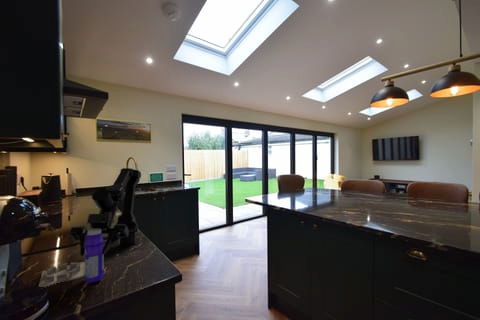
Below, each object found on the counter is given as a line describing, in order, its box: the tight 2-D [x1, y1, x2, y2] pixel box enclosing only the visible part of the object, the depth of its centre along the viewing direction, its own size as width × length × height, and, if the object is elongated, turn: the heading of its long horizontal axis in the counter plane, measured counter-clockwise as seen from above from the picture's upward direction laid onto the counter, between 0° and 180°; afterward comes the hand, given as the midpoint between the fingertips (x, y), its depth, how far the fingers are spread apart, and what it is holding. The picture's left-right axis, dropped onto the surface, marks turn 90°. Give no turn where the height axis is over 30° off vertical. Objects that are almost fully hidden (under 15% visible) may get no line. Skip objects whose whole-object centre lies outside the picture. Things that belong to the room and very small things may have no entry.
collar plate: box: [38, 261, 85, 288], centre depth 80 cm, size 16×13×3 cm
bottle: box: [83, 228, 105, 284], centre depth 75 cm, size 7×6×17 cm
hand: (92, 254), depth 73 cm, fingers closed on bottle, 7 cm apart
